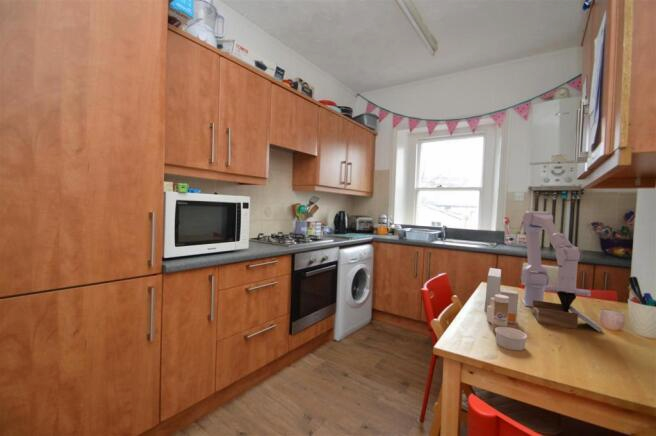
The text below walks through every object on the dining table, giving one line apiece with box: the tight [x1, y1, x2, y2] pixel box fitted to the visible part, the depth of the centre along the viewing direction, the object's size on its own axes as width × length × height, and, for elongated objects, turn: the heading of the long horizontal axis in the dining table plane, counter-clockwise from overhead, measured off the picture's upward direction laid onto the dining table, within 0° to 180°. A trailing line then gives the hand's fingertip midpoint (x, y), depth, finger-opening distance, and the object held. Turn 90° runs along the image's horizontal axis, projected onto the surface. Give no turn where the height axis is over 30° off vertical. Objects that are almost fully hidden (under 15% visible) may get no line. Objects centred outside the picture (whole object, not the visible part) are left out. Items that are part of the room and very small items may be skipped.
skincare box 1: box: [483, 267, 502, 312], centre depth 134 cm, size 21×6×16 cm, turn 148°
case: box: [531, 300, 579, 330], centre depth 117 cm, size 12×12×6 cm
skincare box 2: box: [500, 288, 519, 325], centre depth 116 cm, size 6×4×12 cm
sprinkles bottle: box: [492, 294, 509, 334], centre depth 104 cm, size 5×5×14 cm
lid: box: [569, 304, 603, 333], centre depth 113 cm, size 10×10×2 cm
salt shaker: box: [486, 298, 495, 325], centre depth 113 cm, size 4×4×10 cm
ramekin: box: [495, 326, 528, 352], centre depth 95 cm, size 9×9×4 cm
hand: (565, 311), depth 116 cm, fingers closed
